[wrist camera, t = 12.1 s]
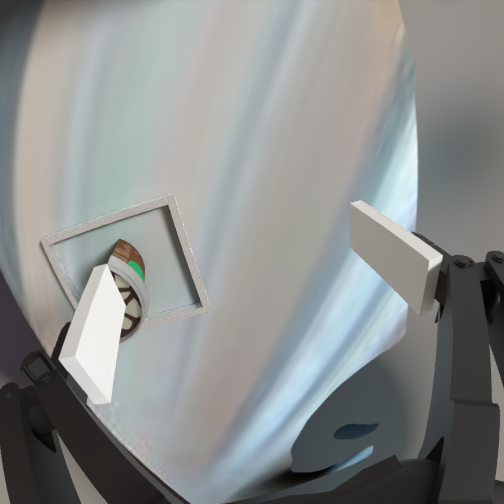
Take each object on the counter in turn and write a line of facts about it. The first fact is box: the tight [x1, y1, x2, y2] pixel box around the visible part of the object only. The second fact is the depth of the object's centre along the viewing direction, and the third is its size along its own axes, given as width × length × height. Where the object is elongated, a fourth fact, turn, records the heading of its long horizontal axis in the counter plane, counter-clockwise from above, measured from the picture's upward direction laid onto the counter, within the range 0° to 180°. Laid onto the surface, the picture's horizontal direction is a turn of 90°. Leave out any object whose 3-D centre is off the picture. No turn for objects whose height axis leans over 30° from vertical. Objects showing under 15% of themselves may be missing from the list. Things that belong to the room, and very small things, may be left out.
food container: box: [107, 239, 149, 344], centre depth 37 cm, size 12×6×10 cm, turn 154°
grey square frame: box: [41, 192, 211, 330], centre depth 40 cm, size 18×20×2 cm
